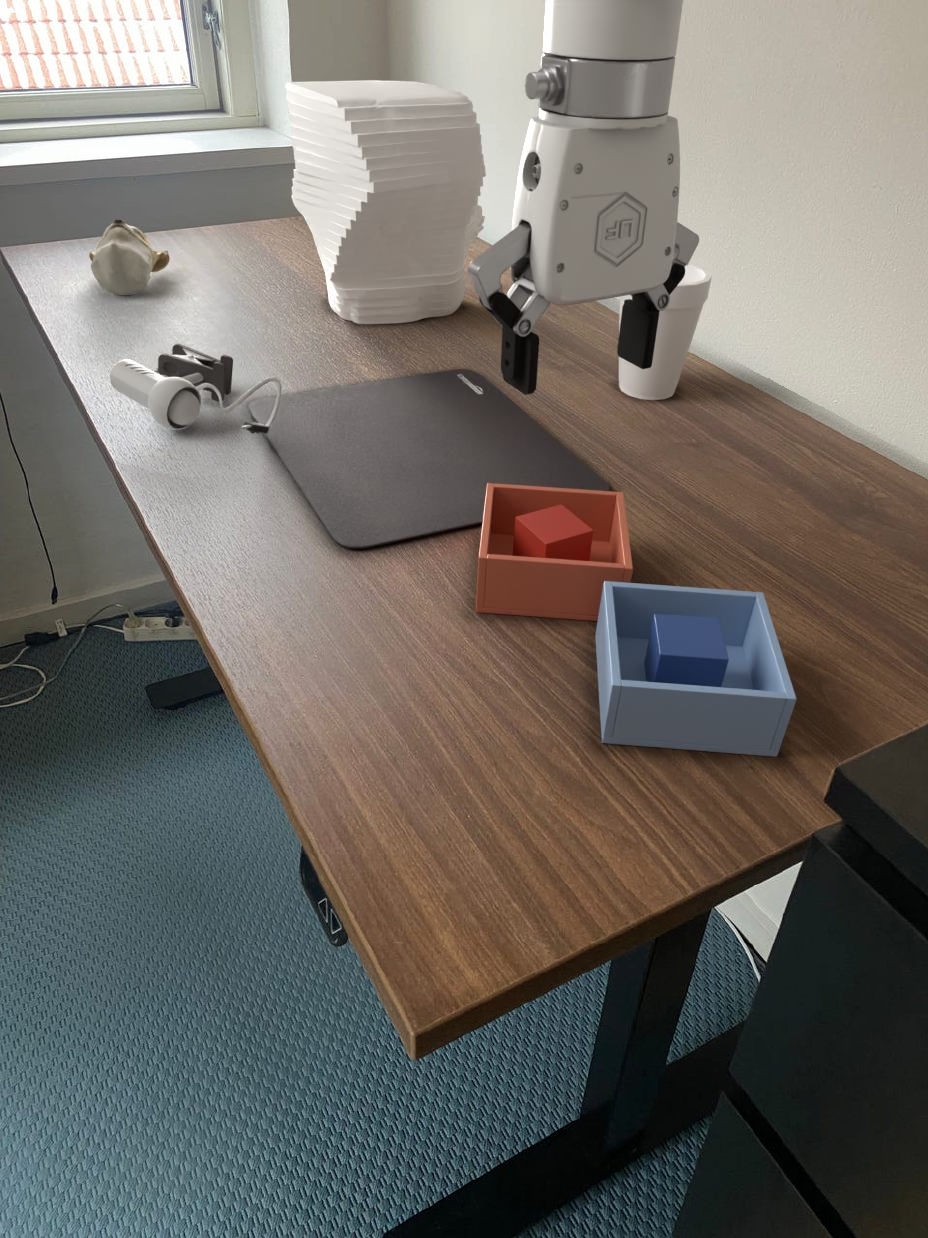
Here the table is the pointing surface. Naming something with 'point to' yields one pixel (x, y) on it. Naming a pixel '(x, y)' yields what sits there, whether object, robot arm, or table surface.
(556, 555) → the red block
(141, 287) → the ceramic sculpture
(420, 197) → the paper stack
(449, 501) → the mouse pad
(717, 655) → the blue block
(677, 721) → the blue bin
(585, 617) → the red bin
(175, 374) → the clip-on lamp
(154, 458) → the table surface
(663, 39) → the robot arm
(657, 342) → the foam cup
